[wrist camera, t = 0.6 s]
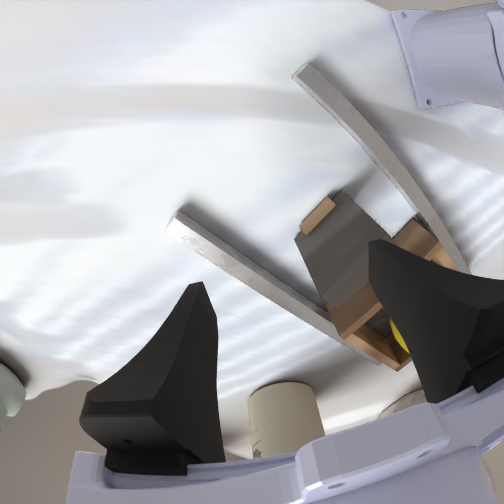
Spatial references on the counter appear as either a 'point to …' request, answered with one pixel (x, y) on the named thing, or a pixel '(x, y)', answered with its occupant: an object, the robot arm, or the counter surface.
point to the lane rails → (268, 283)
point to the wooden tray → (357, 270)
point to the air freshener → (10, 393)
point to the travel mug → (283, 419)
